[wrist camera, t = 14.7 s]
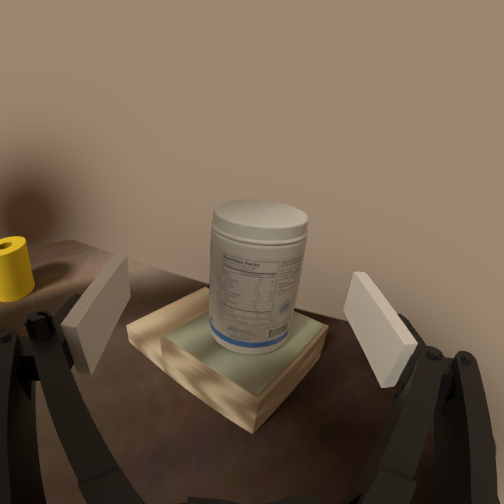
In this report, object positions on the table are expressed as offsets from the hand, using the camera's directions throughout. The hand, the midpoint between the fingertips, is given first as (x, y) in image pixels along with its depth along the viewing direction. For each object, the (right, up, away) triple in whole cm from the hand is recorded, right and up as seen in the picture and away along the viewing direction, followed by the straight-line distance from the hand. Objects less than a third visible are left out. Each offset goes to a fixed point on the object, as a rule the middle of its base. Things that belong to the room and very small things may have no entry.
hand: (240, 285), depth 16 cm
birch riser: (-3, -12, +22) cm, 26 cm away
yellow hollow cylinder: (-47, -6, +28) cm, 55 cm away
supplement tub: (0, -8, +18) cm, 20 cm away
